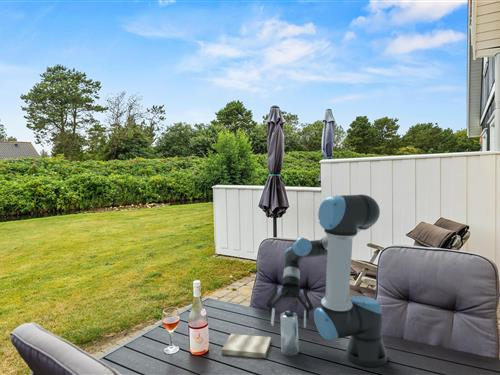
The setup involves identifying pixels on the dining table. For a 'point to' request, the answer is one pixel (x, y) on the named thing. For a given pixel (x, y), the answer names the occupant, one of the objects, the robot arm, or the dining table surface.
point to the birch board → (247, 346)
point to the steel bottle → (289, 333)
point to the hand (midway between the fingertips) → (288, 325)
